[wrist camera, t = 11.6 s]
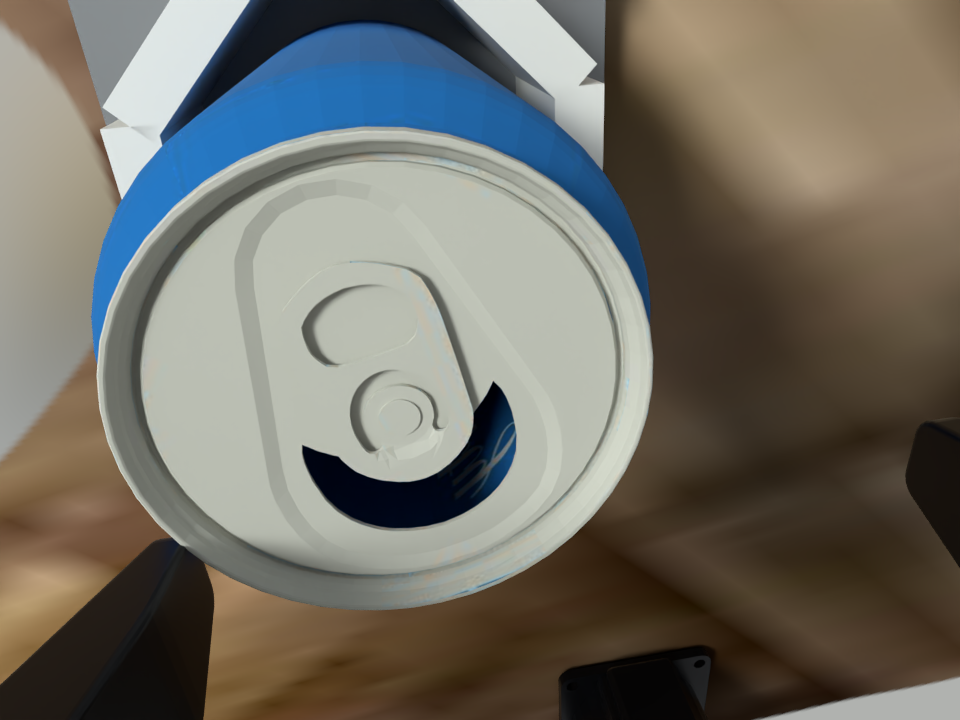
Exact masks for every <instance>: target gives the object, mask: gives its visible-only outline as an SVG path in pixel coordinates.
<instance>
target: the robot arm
mask: <svg viewBox="0 0 960 720" xmlns="http://www.w3.org/2000/svg"><path fill="white" fill-rule="evenodd" d="M905 477H906V484H907V487H908V490H909V492H910V494H911V496H912V497H913V499H914V500H915V502H916V503H917V505H918V506H919V508H920V509H921V511H922V512H923V514H924V515H925V517H926V518H927V520H928V521H929V523H930V524H931V526H932V527H933V529H934V530H935V532H936V533H937V534H938V536H939V537H940V539H941V540H942V542H943V543H944V545H945V546H946V548H947V549H948V551H949V552H950V554H951V555H952V557H953V558H954V560H955V561H956V563H957V564H958V566H959V567H960V418H956V417H949V418H943V419H936V420H930V421H926V422H924V423H922V424H921V425H920V426H919V427H918V429H917V431H916V434H915V437H914V441H913V445H912V449H911V453H910V457H909V461H908V465H907V469H906V474H905ZM213 613H214V593H213V588H212V584H211V581H210V578H209V576H208V573H207V570H206V567H205V564H204V562H203V561H201V560H200V559H199V558H197V557H196V556H195V555H193V554H192V553H191V552H189V551H188V550H187V549H186V548H185V547H184V546H182V545H180V544H179V543H178V542H177V541H175V540H174V539H173V538H172V537H171V538H164V539H159V540H156V541H154V542H152V543H151V544H150V545H149V546H148V547H147V548H146V549H144V550H143V551H142V552H141V553H140V554H139V555H138V556H137V557H136V558H135V559H134V560H133V561H132V562H131V563H130V564H128V565H127V566H126V567H125V568H124V569H123V570H122V571H121V572H120V573H119V574H118V575H117V576H116V577H115V578H114V579H113V580H111V581H110V582H109V583H108V584H107V585H106V586H105V587H104V588H103V589H102V590H101V591H100V592H99V593H98V594H97V595H95V596H94V597H93V598H92V599H91V600H90V601H89V602H88V603H87V604H86V605H85V606H84V607H83V608H82V609H81V610H79V611H78V612H77V613H76V614H75V615H74V616H73V617H72V618H71V619H70V620H69V621H68V622H67V623H66V624H65V625H64V626H62V627H61V628H60V629H59V630H58V631H57V632H56V633H55V634H54V635H53V636H52V637H51V638H50V639H49V640H48V641H46V642H45V643H44V644H43V645H42V646H41V647H40V648H39V649H38V650H37V651H36V652H35V653H34V654H33V655H32V656H31V657H29V658H28V659H27V660H26V661H25V662H24V663H23V664H22V665H21V666H20V667H19V668H18V669H17V670H16V671H15V672H13V673H12V674H11V675H10V676H9V677H8V678H7V679H6V680H5V681H4V682H3V683H2V684H1V685H0V720H203V717H204V707H205V697H206V687H207V676H208V666H209V655H210V645H211V634H212V624H213ZM710 665H711V659H710V657H709V655H708V653H707V651H706V650H705V649H703V648H693V649H688V650H682V651H676V652H671V653H665V654H659V655H654V656H648V657H642V658H637V659H631V660H625V661H620V662H614V663H608V664H603V665H597V666H591V667H586V668H580V669H574V670H569V671H566V672H564V673H563V674H562V675H561V676H560V677H559V720H708V719H707V717H706V714H705V712H704V709H705V702H706V695H707V687H708V680H709V673H710Z"/></svg>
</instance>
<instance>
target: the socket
mask: <svg viewBox="0 0 960 720" xmlns="http://www.w3.org/2000/svg"><path fill="white" fill-rule="evenodd" d="M68 3H69V6H70V9H71V12H72V16H73V19H74V22H75V25H76V29H77V32H78V35H79V38H80V42H81V45H82V48H83V51H84V55H85V58H86V61H87V64H88V68H89V71H90V74H91V77H92V81H93V84H94V87H95V90H96V94H97V97H98V100H99V103H100V107H101V110H102V113H103V116H104V120H105V123H106V127H104V128H102V129H100V131H101V134H102V138H103V141H104V144H105V147H106V150H107V154H108V157H109V160H110V163H111V166H112V170H113V173H114V176H115V179H116V182H117V186H118V189H119V192H120V195H121V198H122V199H123V197H124V196H125V194H126V192H127V191H128V189H129V188H130V186H131V184H132V183H133V181H134V180H135V178H136V177H137V175H138V173H139V172H140V171H141V170H142V169H143V167H144V166H145V165H146V164H147V163H148V162H149V160H150V159H151V158H152V157H153V156H154V155H155V154H156V152H157V151H158V150H159V149H160V148H161V147H162V146H163V144H164V143H165V142H166V141H167V140H169V139H170V138H171V137H172V136H173V135H175V134H176V133H177V132H178V131H179V130H181V129H182V128H183V127H184V126H185V125H187V124H188V123H189V122H190V121H191V120H193V119H194V118H195V117H196V116H197V115H199V114H200V113H201V112H202V111H204V110H205V109H206V108H207V107H209V106H210V105H211V104H213V103H214V102H215V101H216V100H218V99H219V98H220V97H221V96H223V95H224V94H225V93H226V92H228V91H229V90H230V89H232V88H233V87H234V86H235V85H237V84H238V83H239V82H240V81H242V80H243V79H244V78H245V77H247V76H248V75H249V74H251V73H252V72H253V71H254V70H256V69H257V68H258V67H259V66H261V65H262V64H263V63H265V62H266V61H267V60H268V59H270V58H271V57H272V56H273V55H275V54H276V53H277V52H278V51H280V50H281V49H282V48H284V47H285V46H286V45H287V44H289V43H290V42H292V41H294V40H295V39H297V38H299V37H300V36H302V35H303V34H305V33H308V32H310V31H313V30H315V29H317V28H320V27H322V26H326V25H330V24H333V23H337V22H342V21H351V20H381V21H387V22H392V23H398V24H401V25H404V26H407V27H410V28H413V29H416V30H419V31H421V32H423V33H425V34H427V35H429V36H431V37H433V38H435V39H436V40H438V41H439V42H441V43H442V44H444V45H445V46H447V47H448V48H450V49H451V50H453V51H454V52H455V53H457V54H458V55H460V56H461V57H463V58H464V59H465V60H467V61H468V62H470V63H471V64H473V65H474V66H475V67H477V68H478V69H480V70H481V71H483V72H484V73H486V74H487V75H488V76H490V77H491V78H493V79H494V80H496V81H497V82H498V83H500V84H501V85H503V86H504V87H506V88H507V89H508V90H510V91H511V92H513V93H514V94H516V95H517V96H518V97H520V98H521V99H523V100H524V101H526V102H527V103H529V104H530V105H531V106H533V107H534V108H536V109H537V110H539V111H540V112H541V113H543V114H544V115H546V116H547V117H549V118H550V119H551V120H553V121H554V122H555V123H557V124H558V125H559V126H560V127H561V128H562V129H563V130H564V131H565V132H567V133H568V134H569V135H570V136H571V137H572V138H573V139H574V140H575V141H577V142H578V143H579V144H580V145H581V146H582V147H583V148H584V149H585V150H586V152H587V153H588V154H589V155H590V157H591V158H592V159H593V160H594V161H595V163H596V164H597V165H598V166H599V167H600V169H601V170H602V171H603V137H604V55H605V0H68Z"/></svg>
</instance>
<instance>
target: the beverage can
mask: <svg viewBox="0 0 960 720" xmlns="http://www.w3.org/2000/svg"><path fill="white" fill-rule="evenodd" d="M91 318H92V329H93V330H92V331H93V343H94V353H95V357H96V361H97V385H98V397H99V409H100V413H101V417H102V421H103V425H104V429H105V433H106V437H107V441H108V443H109V446H110V448H111V450H112V453H113V455H114V458H115V460H116V462H117V465H118V467H119V469H120V471H121V473H122V475H123V476H124V478H125V480H126V481H127V483H128V485H129V486H130V488H131V490H132V491H133V493H134V495H135V496H136V498H137V499H138V500H139V502H140V503H141V504H142V505H143V507H144V508H145V509H146V510H147V511H148V513H149V514H150V515H151V516H152V518H153V519H154V520H155V521H156V523H158V524H159V525H160V526H161V527H162V528H163V529H164V530H165V531H166V532H167V533H168V534H169V535H170V536H171V537H172V538H173V539H174V540H175V541H177V542H178V543H179V544H180V545H182V546H184V547H185V548H186V549H187V550H188V551H189V552H191V553H192V554H193V555H195V556H196V557H197V558H199V559H200V560H201V561H203V562H204V563H206V564H207V565H209V566H211V567H213V568H214V569H216V570H218V571H220V572H221V573H223V574H225V575H227V576H228V577H230V578H232V579H234V580H237V581H239V582H241V583H243V584H246V585H248V586H250V587H253V588H255V589H257V590H260V591H262V592H265V593H269V594H272V595H275V596H278V597H281V598H285V599H288V600H291V601H296V602H301V603H306V604H311V605H316V606H320V607H329V608H339V609H349V610H389V609H401V608H413V607H418V606H424V605H429V604H435V603H440V602H444V601H448V600H452V599H455V598H459V597H462V596H466V595H469V594H472V593H475V592H477V591H480V590H483V589H485V588H488V587H490V586H493V585H496V584H498V583H500V582H502V581H504V580H506V579H508V578H510V577H512V576H514V575H516V574H518V573H520V572H522V571H524V570H526V569H527V568H529V567H531V566H532V565H534V564H535V563H537V562H538V561H540V560H542V559H543V558H545V557H546V556H548V555H549V554H551V553H552V552H553V551H555V550H556V549H557V548H558V547H560V546H561V545H562V544H563V543H565V542H566V541H567V540H568V539H570V538H571V537H572V536H573V535H574V534H575V533H576V532H577V531H578V530H579V529H580V528H581V527H582V526H583V525H584V524H585V523H587V522H588V521H589V520H590V519H591V518H592V517H593V515H594V514H595V513H596V512H597V511H598V509H599V508H600V507H601V506H602V504H603V503H604V502H605V501H606V499H607V498H608V497H609V496H610V495H611V493H612V491H613V490H614V488H615V487H616V485H617V484H618V482H619V480H620V479H621V477H622V476H623V474H624V473H625V471H626V469H627V467H628V465H629V463H630V461H631V459H632V456H633V454H634V452H635V450H636V448H637V446H638V444H639V441H640V437H641V434H642V431H643V428H644V425H645V422H646V419H647V415H648V409H649V404H650V398H651V392H652V384H653V350H652V341H651V333H650V295H649V286H648V277H647V271H646V267H645V263H644V259H643V255H642V252H641V248H640V244H639V240H638V237H637V234H636V232H635V230H634V227H633V225H632V222H631V220H630V218H629V215H628V213H627V211H626V208H625V206H624V204H623V202H622V201H621V199H620V197H619V196H618V194H617V193H616V191H615V189H614V188H613V186H612V184H611V183H610V181H609V179H608V178H607V176H606V175H605V173H604V172H603V171H602V170H601V169H600V167H599V166H598V165H597V164H596V163H595V161H594V160H593V159H592V158H591V157H590V155H589V154H588V153H587V152H586V150H585V149H584V148H583V147H582V146H581V145H580V144H579V143H578V142H577V141H575V140H574V139H573V138H572V137H571V136H570V135H569V134H568V133H567V132H565V131H564V130H563V129H562V128H561V127H560V126H559V125H558V124H557V123H555V122H554V121H553V120H551V119H550V118H549V117H547V116H546V115H544V114H543V113H541V112H540V111H539V110H537V109H536V108H534V107H533V106H531V105H530V104H529V103H527V102H526V101H524V100H523V99H521V98H520V97H518V96H517V95H516V94H514V93H513V92H511V91H510V90H508V89H507V88H506V87H504V86H503V85H501V84H500V83H498V82H497V81H496V80H494V79H493V78H491V77H490V76H488V75H487V74H486V73H484V72H483V71H481V70H480V69H478V68H477V67H475V66H474V65H473V64H471V63H470V62H468V61H467V60H465V59H464V58H463V57H461V56H460V55H458V54H457V53H455V52H454V51H453V50H451V49H450V48H448V47H447V46H445V45H444V44H442V43H441V42H439V41H438V40H436V39H435V38H433V37H431V36H429V35H427V34H425V33H423V32H421V31H419V30H416V29H413V28H410V27H407V26H404V25H401V24H398V23H392V22H387V21H381V20H351V21H342V22H337V23H333V24H330V25H326V26H322V27H320V28H317V29H315V30H313V31H310V32H308V33H305V34H303V35H302V36H300V37H299V38H297V39H295V40H294V41H292V42H290V43H289V44H287V45H286V46H285V47H284V48H282V49H281V50H280V51H278V52H277V53H276V54H275V55H273V56H272V57H271V58H270V59H268V60H267V61H266V62H265V63H263V64H262V65H261V66H259V67H258V68H257V69H256V70H254V71H253V72H252V73H251V74H249V75H248V76H247V77H245V78H244V79H243V80H242V81H240V82H239V83H238V84H237V85H235V86H234V87H233V88H232V89H230V90H229V91H228V92H226V93H225V94H224V95H223V96H221V97H220V98H219V99H218V100H216V101H215V102H214V103H213V104H211V105H210V106H209V107H207V108H206V109H205V110H204V111H202V112H201V113H200V114H199V115H197V116H196V117H195V118H194V119H193V120H191V121H190V122H189V123H188V124H187V125H185V126H184V127H183V128H182V129H181V130H179V131H178V132H177V133H176V134H175V135H173V136H172V137H171V138H170V139H169V140H167V141H166V142H165V143H164V144H163V146H162V147H161V148H160V149H159V150H158V151H157V152H156V154H155V155H154V156H153V157H152V158H151V159H150V160H149V162H148V163H147V164H146V165H145V166H144V167H143V169H142V170H141V171H140V172H139V173H138V175H137V177H136V178H135V180H134V181H133V183H132V184H131V186H130V188H129V189H128V191H127V192H126V194H125V196H124V197H123V199H122V200H121V202H120V204H119V205H118V207H117V210H116V212H115V215H114V217H113V219H112V222H111V224H110V226H109V229H108V231H107V234H106V236H105V238H104V241H103V245H102V249H101V254H100V257H99V261H98V266H97V270H96V274H95V279H94V289H93V303H92V316H91Z"/></svg>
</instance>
